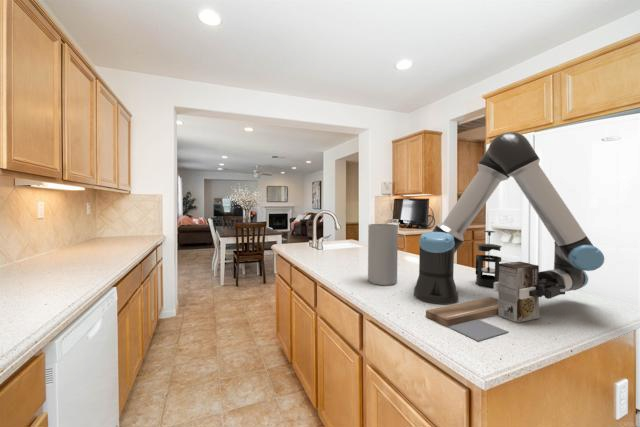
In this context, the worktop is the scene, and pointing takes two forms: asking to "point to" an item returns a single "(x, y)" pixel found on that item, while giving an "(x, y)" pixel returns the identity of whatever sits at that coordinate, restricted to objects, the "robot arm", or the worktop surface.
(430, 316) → the walnut board
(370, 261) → the cylinder vase
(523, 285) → the coffee box
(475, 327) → the end pad
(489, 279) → the french press
